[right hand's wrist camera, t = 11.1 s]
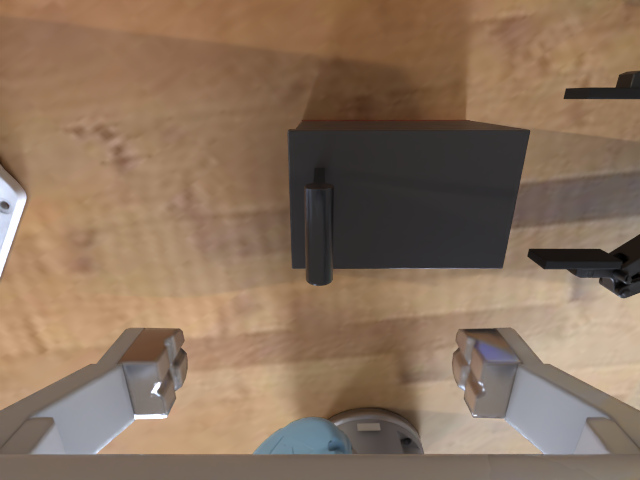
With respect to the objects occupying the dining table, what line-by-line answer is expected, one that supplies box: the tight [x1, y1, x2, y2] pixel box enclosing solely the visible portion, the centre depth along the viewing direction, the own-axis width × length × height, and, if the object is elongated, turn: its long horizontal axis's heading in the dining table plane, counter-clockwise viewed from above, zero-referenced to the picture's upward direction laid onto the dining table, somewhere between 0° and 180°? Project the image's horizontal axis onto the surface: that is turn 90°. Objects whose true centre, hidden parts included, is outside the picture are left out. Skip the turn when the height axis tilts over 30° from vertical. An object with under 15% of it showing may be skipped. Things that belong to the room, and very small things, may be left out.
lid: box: [288, 129, 530, 286], centre depth 23 cm, size 16×10×8 cm, turn 90°
